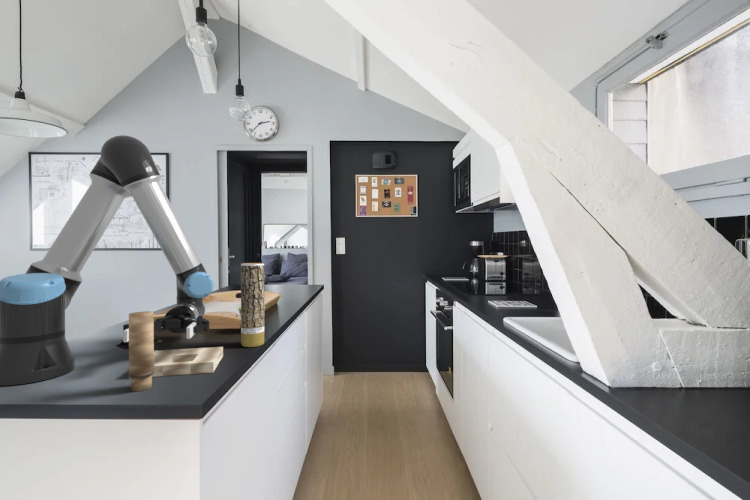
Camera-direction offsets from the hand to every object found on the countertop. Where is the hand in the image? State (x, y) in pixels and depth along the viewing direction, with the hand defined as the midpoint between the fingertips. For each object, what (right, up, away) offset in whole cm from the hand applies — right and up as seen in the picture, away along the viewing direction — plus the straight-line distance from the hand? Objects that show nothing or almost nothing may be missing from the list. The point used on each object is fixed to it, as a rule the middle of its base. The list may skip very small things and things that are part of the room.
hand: (157, 334), depth 89 cm
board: (+3, -9, +5) cm, 11 cm away
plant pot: (+8, -9, +43) cm, 45 cm away
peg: (+2, -9, -9) cm, 13 cm away
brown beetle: (-21, -10, +27) cm, 35 cm away
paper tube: (+15, -9, +25) cm, 31 cm away
